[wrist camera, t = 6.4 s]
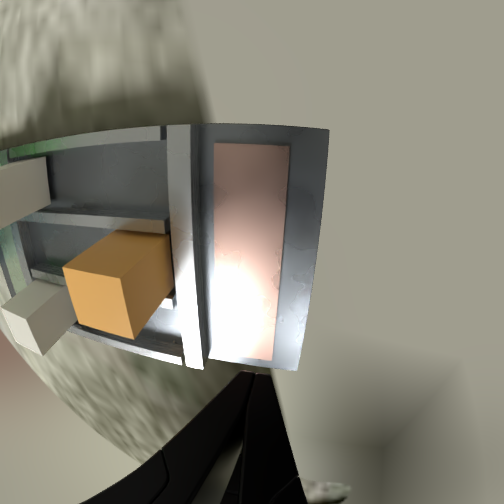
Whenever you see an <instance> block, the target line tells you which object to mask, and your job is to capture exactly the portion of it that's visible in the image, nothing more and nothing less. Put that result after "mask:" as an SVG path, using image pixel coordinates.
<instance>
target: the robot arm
mask: <svg viewBox="0 0 504 504" xmlns="http://www.w3.org/2000/svg"><path fill="white" fill-rule="evenodd" d="M241 449H242V454H240V451H241ZM298 476H299V474H298V470H297V467H296V463H295V460H294V457H293V453H292V450H291V446H290V442H289V439H288V435H287V432H286V428H285V424H284V421H283V417H282V414H281V410H280V406H279V403H278V399H277V396H276V392H275V388H274V385H273V381H272V377H271V375H270V374H265V373H256V375H255V373H254V372H251V371H245V370H241V371H240V372H239V373H238V374H237V375H236V376H235V377H234V378H233V379H232V380H231V381H230V382H229V383H228V384H227V385H226V386H225V387H224V388H223V389H222V390H221V391H220V392H219V393H218V394H217V395H216V396H215V397H214V398H213V399H212V400H211V401H210V402H209V403H208V404H207V405H206V406H205V407H204V408H203V409H202V410H201V411H200V412H199V413H198V414H197V415H196V416H195V417H194V418H193V419H192V420H191V421H190V422H189V423H188V424H187V425H186V426H185V427H184V428H183V429H181V430H180V431H179V432H178V433H177V434H176V435H175V436H174V437H173V438H172V439H171V440H170V441H169V442H168V443H166V444H165V445H164V446H163V447H162V450H159V451H157V452H156V453H155V454H154V455H153V456H152V457H151V458H150V459H148V460H147V461H146V462H145V463H144V464H142V465H141V466H140V467H139V468H137V469H136V470H135V471H133V472H132V473H130V474H129V475H127V476H126V477H124V478H123V479H121V480H120V481H118V482H117V483H115V484H113V485H112V486H110V487H109V488H107V489H105V490H103V491H102V492H100V493H98V494H97V495H95V496H93V497H91V498H90V499H88V500H86V501H84V502H82V503H79V504H308V502H307V499H306V496H305V493H304V490H303V487H302V484H301V480H300V478H299V477H298Z"/></svg>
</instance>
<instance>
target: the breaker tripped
mask: <svg viewBox="0 0 504 504" xmlns="http://www.w3.org/2000/svg"><path fill="white" fill-rule="evenodd" d="M62 268H63V272H64V276H65V280H66V283H67V287H68V290H69V294H70V297H71V300H72V303H73V307H74V310H75V313H76V316H77V319H78V322H79V324H83V325H86V326H89V327H92V328H95V329H98V330H102V331H105V332H108V333H112V334H115V335H119V336H122V337H126V338H130V339H135V338H136V337H137V335H138V334H139V332H140V331H141V330H142V328H143V327H144V326H145V324H146V323H147V322H148V320H149V319H150V318H151V316H152V315H153V314H154V312H155V311H156V310H157V308H158V307H159V306H160V304H161V303H162V302H163V300H164V299H165V298H166V296H167V295H168V294H169V293H170V291H171V290H172V289H173V287H174V281H173V272H172V262H171V251H170V239H169V234H162V233H152V232H141V231H130V230H120V229H116V230H114V231H113V232H111V233H110V234H108V235H107V236H106V237H104V238H103V239H101V240H100V241H98V242H97V243H95V244H94V245H92V246H91V247H89V248H88V249H87V250H85V251H84V252H82V253H81V254H80V255H78V256H77V257H75V258H74V259H73V260H71V261H70V262H68V263H67V264H66V265H64V266H63V267H62Z"/></svg>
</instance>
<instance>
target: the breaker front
mask: <svg viewBox="0 0 504 504" xmlns="http://www.w3.org/2000/svg"><path fill="white" fill-rule="evenodd" d="M50 204H51V200H50V193H49V186H48V177H47V168H46V156H44V157H37V158H31V159H25V160H19V161H16V162H12V163H9V164H6V165H3V166H0V229H2V228H4V227H6V226H8V225H10V224H12V223H13V222H15V221H17V220H19V219H21V218H23V217H25V216H27V215H29V214H31V213H33V212H35V211H37V210H39V209H41V208H44V207H46V206H48V205H50Z"/></svg>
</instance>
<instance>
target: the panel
mask: <svg viewBox="0 0 504 504" xmlns="http://www.w3.org/2000/svg"><path fill="white" fill-rule="evenodd" d="M328 145H329V130H328V129H319V128H308V127H297V126H283V125H265V124H263V125H262V124H229V123H222V124H221V123H210V124H175V125H157V126H143V127H132V128H122V129H113V130H104V131H97V132H90V133H83V134H76V135H70V136H64V137H59V138H54V139H48V140H43V141H39V142H34V143H29V144H25V145H21V146H17V147H13V148H9V149H5V150H1V151H0V166H3V165H6V164H9V163H12V162H16V161H19V160H25V159H31V158H37V157H44V156H46V168H47V177H48V186H49V193H50V200H51V204H50V205H48V206H46V207H44V208H41V209H39V210H37V211H35V212H33V213H31V214H29V215H27V216H25V217H23V218H21V219H19V220H17V221H15V222H13V223H12V224H10V225H8V226H6V227H4V228H2V229H0V264H1V267H2V270H3V273H4V276H5V279H6V282H7V285H8V288H9V291H10V294H11V297H12V298H13V297H14V296H15V295H16V294H18V293H19V292H20V291H21V290H23V289H24V288H25V287H26V286H28V285H29V284H30V283H32V282H33V281H34V280H36V279H37V278H39V279H42V280H46V281H50V282H53V283H57V284H61V285H65V286H67V283H66V280H65V276H64V272H63V268H62V267H63V266H64V265H66V264H67V263H68V262H70V261H71V260H73V259H74V258H75V257H77V256H78V255H80V254H81V253H82V252H84V251H85V250H87V249H88V248H89V247H91V246H92V245H94V244H95V243H97V242H98V241H100V240H101V239H103V238H104V237H106V236H107V235H108V234H110V233H111V232H113V231H114V230H116V229H120V230H130V231H141V232H152V233H162V234H169V239H170V251H171V262H172V272H173V281H174V287H173V289H172V290H171V291H170V293H169V294H168V295H167V296H166V298H165V299H164V300H163V302H162V303H161V304H160V306H159V307H158V308H157V310H156V311H155V312H154V314H153V315H152V316H151V318H150V319H149V320H148V322H147V323H146V324H145V326H144V327H143V328H142V330H141V331H140V332H139V334H138V335H137V337H136V338H135V339H130V338H126V337H122V336H119V335H115V334H112V333H108V332H105V331H102V330H98V329H95V328H92V327H89V326H86V325H83V324H79V322H78V320H77V321H76V322H75V323H74V324H73V325H72V326H71V327H70V328H69V329H68V330H67V331H69V332H71V333H74V334H77V335H80V336H83V337H86V338H89V339H91V340H94V341H98V342H101V343H104V344H107V345H110V346H113V347H117V348H120V349H123V350H127V351H130V352H134V353H137V354H141V355H144V356H148V357H152V358H156V359H160V360H164V361H168V362H172V363H176V364H180V365H182V363H183V361H184V359H186V365H187V366H189V367H194V368H198V369H204V366H205V364H206V362H207V359H208V358H212V359H218V360H223V361H229V362H235V363H241V364H247V365H254V366H261V367H268V368H275V369H283V370H292V371H297V369H298V365H299V359H300V354H301V349H302V344H303V338H304V332H305V327H306V321H307V315H308V310H309V304H310V297H311V291H312V284H313V278H314V271H315V264H316V257H317V249H318V242H319V234H320V226H321V218H322V208H323V200H324V189H325V179H326V169H327V157H328Z"/></svg>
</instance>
